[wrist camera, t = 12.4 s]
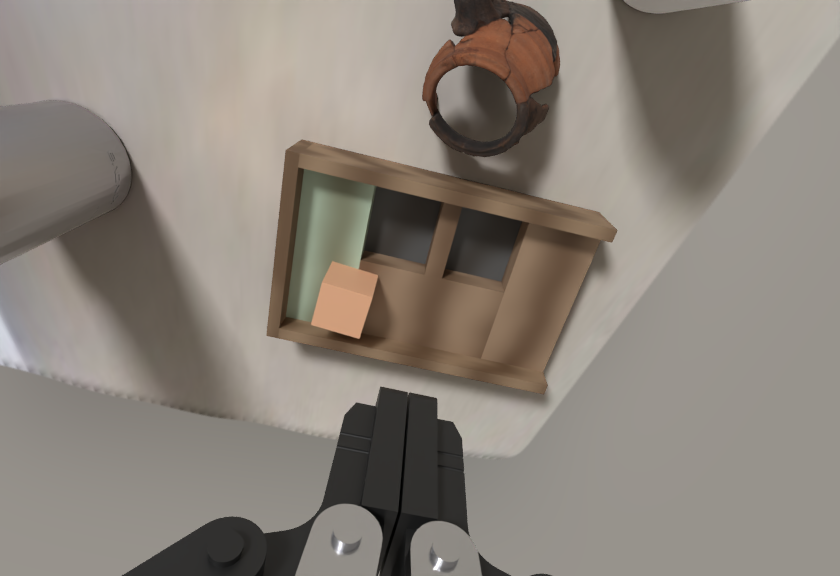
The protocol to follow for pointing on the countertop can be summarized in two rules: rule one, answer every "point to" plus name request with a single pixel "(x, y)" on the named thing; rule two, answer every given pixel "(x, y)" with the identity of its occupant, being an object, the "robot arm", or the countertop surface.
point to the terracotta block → (344, 300)
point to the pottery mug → (497, 65)
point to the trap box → (430, 264)
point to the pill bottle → (674, 4)
